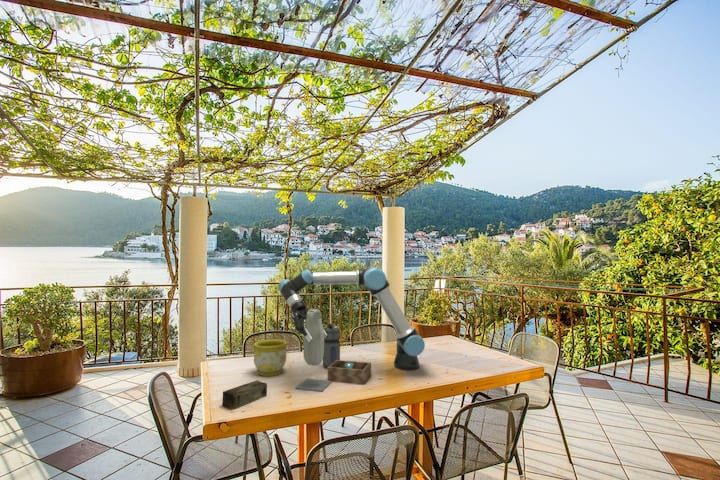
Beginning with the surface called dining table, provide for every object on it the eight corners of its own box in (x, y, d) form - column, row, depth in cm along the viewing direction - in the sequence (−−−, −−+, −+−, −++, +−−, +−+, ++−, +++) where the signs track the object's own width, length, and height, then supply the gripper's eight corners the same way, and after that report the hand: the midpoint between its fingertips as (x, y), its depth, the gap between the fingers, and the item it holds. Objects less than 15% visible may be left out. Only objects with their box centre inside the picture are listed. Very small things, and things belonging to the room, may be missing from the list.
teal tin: (354, 374, 190) (354, 362, 191) (352, 377, 186) (352, 365, 186) (346, 373, 192) (346, 362, 192) (343, 376, 187) (343, 364, 187)
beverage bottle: (337, 362, 215) (337, 321, 217) (341, 369, 202) (342, 325, 204) (320, 363, 212) (321, 322, 214) (324, 370, 200) (324, 326, 201)
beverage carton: (267, 396, 163) (268, 381, 163) (232, 411, 147) (232, 395, 147) (256, 392, 167) (256, 378, 167) (220, 406, 151) (221, 391, 151)
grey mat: (332, 382, 181) (332, 380, 181) (321, 391, 167) (321, 390, 167) (307, 379, 184) (307, 378, 184) (295, 388, 171) (295, 387, 171)
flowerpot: (254, 368, 203) (255, 340, 204) (286, 366, 207) (286, 338, 208) (251, 378, 186) (252, 347, 186) (286, 376, 189) (286, 345, 190)
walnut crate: (371, 375, 190) (371, 362, 191) (364, 384, 177) (364, 370, 177) (336, 372, 196) (336, 359, 196) (327, 380, 182) (327, 367, 183)
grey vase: (327, 364, 177) (328, 308, 179) (312, 369, 169) (313, 310, 171) (314, 360, 184) (315, 307, 185) (299, 365, 176) (300, 309, 177)
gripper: (308, 306, 196) (329, 339, 186) (276, 311, 178) (297, 347, 168) (315, 298, 193) (336, 330, 183) (283, 301, 175) (305, 337, 165)
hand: (318, 338), depth 175 cm, fingers closed on grey vase, 10 cm apart
